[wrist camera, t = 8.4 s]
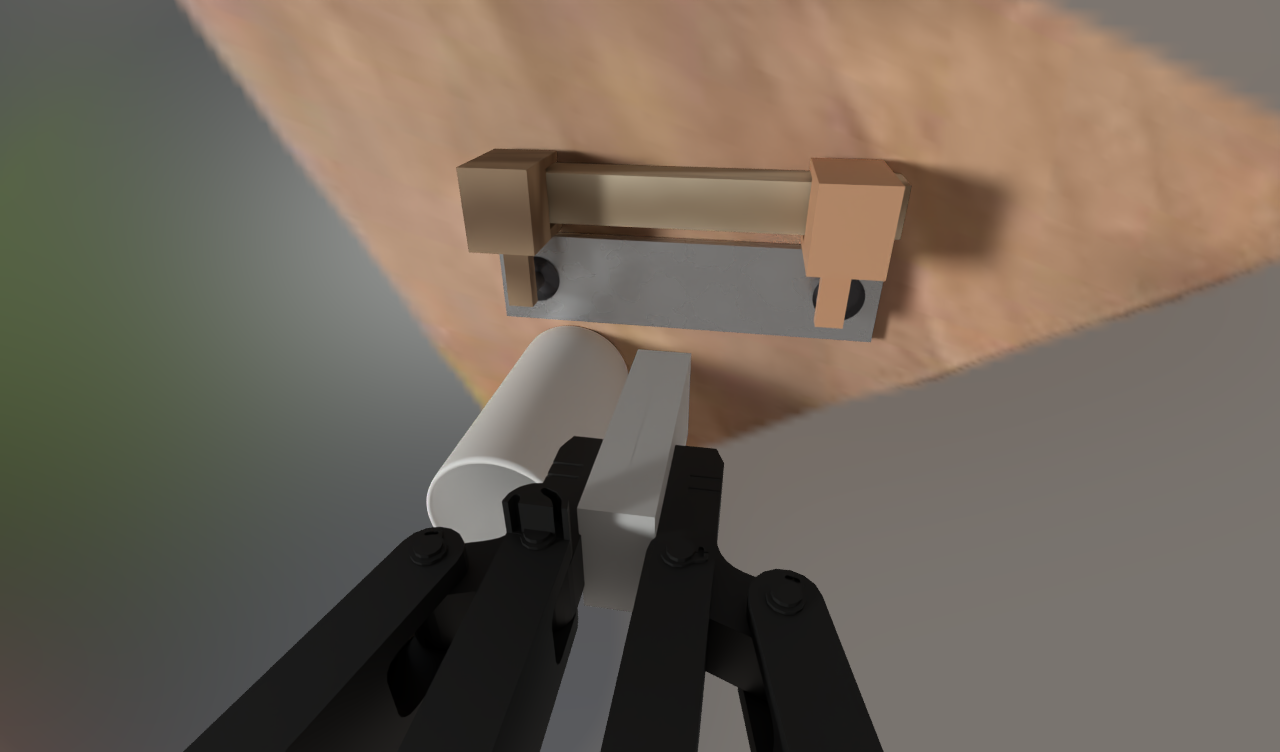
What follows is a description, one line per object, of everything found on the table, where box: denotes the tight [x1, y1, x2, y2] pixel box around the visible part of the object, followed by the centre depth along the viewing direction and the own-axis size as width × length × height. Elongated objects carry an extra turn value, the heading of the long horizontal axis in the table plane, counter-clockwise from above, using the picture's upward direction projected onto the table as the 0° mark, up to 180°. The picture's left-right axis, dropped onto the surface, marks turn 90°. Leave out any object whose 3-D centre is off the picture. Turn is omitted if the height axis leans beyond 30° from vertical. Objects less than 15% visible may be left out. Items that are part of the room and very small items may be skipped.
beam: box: [545, 163, 912, 240], centre depth 37 cm, size 3×25×3 cm, turn 90°
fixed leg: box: [456, 149, 562, 307], centre depth 38 cm, size 9×4×6 cm, turn 0°
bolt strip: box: [500, 232, 883, 342], centre depth 41 cm, size 6×25×1 cm, turn 90°
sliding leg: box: [801, 158, 905, 329], centre depth 35 cm, size 9×4×6 cm, turn 0°
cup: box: [427, 326, 628, 543], centre depth 40 cm, size 8×8×16 cm
